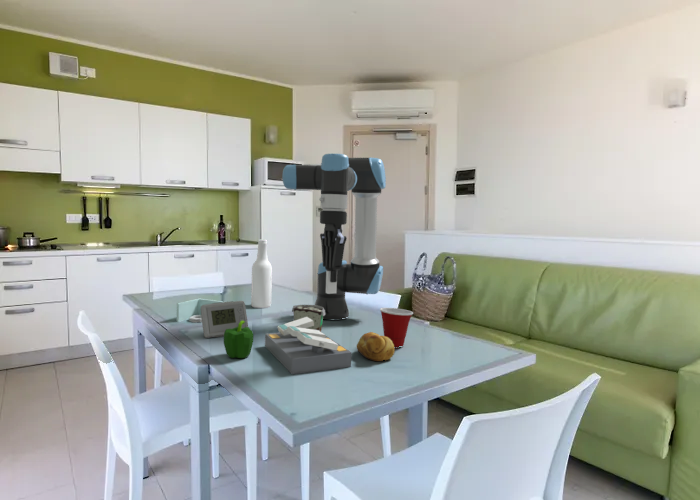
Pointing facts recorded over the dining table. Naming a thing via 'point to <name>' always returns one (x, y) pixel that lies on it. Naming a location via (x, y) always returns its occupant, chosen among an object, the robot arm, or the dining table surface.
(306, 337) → the white rectangular block
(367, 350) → the bread roll
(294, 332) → the rocker
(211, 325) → the digital clock
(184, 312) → the l-shaped corner panel
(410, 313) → the plastic cup
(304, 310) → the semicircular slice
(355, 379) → the dining table surface
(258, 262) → the alcohol
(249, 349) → the bell pepper
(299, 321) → the rocker
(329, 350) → the switch unit
